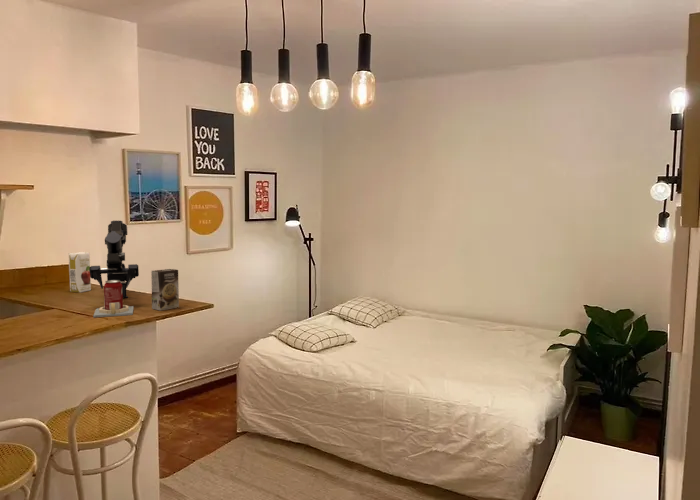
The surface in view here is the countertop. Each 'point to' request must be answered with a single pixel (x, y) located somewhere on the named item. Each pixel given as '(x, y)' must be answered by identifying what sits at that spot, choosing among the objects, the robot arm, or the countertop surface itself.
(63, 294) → the countertop surface
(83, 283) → the juice carton
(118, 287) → the soda can
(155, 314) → the countertop surface
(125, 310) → the flange board
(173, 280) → the cookie box
